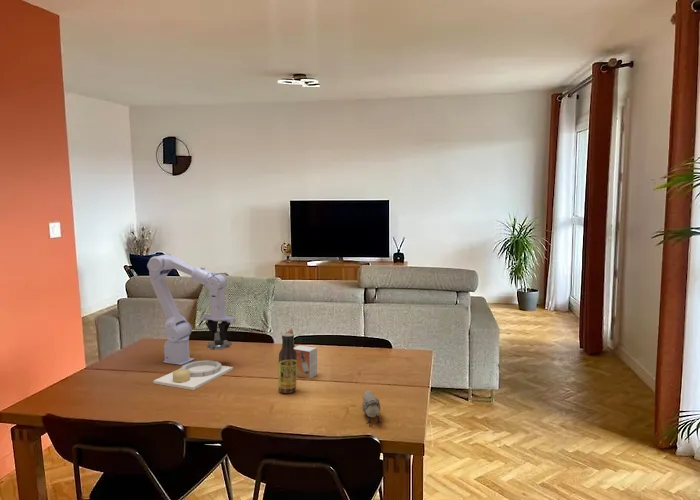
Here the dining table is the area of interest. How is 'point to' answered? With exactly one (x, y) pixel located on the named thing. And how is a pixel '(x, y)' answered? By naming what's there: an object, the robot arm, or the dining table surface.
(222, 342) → the gear
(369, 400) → the decorative bird
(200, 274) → the robot arm
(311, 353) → the small box
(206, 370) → the carrier plate
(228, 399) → the dining table surface
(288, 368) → the sauce bottle
